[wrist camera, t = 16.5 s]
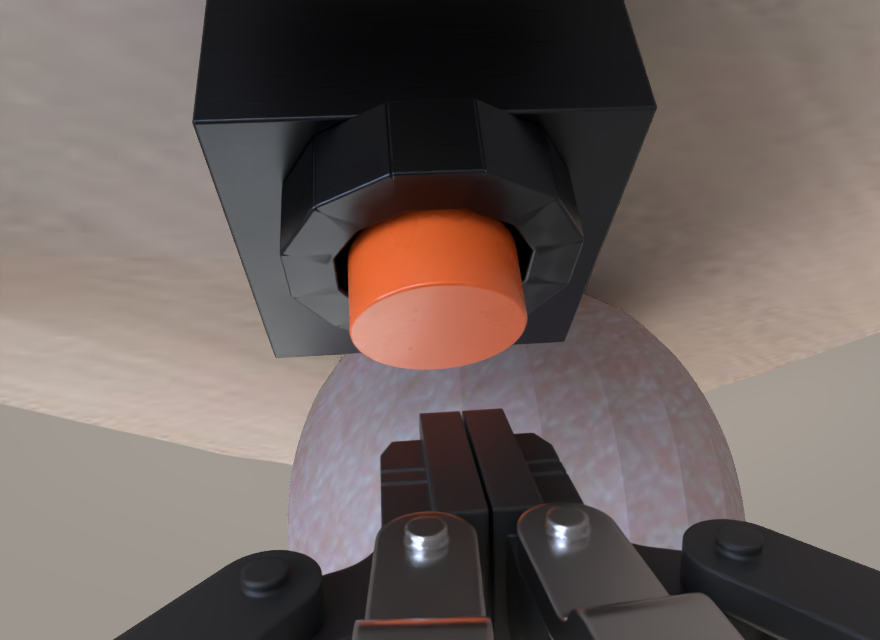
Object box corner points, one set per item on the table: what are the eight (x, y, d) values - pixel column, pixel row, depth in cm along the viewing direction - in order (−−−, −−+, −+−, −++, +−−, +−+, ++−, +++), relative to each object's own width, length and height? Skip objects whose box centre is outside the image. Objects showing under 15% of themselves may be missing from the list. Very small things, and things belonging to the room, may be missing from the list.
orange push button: (353, 303, 19) (355, 375, 18) (340, 207, 16) (342, 288, 15) (505, 296, 19) (515, 365, 18) (526, 199, 16) (541, 279, 15)
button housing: (282, 120, 30) (273, 414, 24) (220, -182, 20) (175, 182, 14) (522, 112, 31) (575, 395, 25) (575, -183, 21) (688, 163, 15)
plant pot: (671, 364, 54) (801, 859, 40) (364, 415, 58) (379, 884, 44) (692, 151, 34) (977, 1015, 19) (216, 253, 38) (150, 1035, 23)
